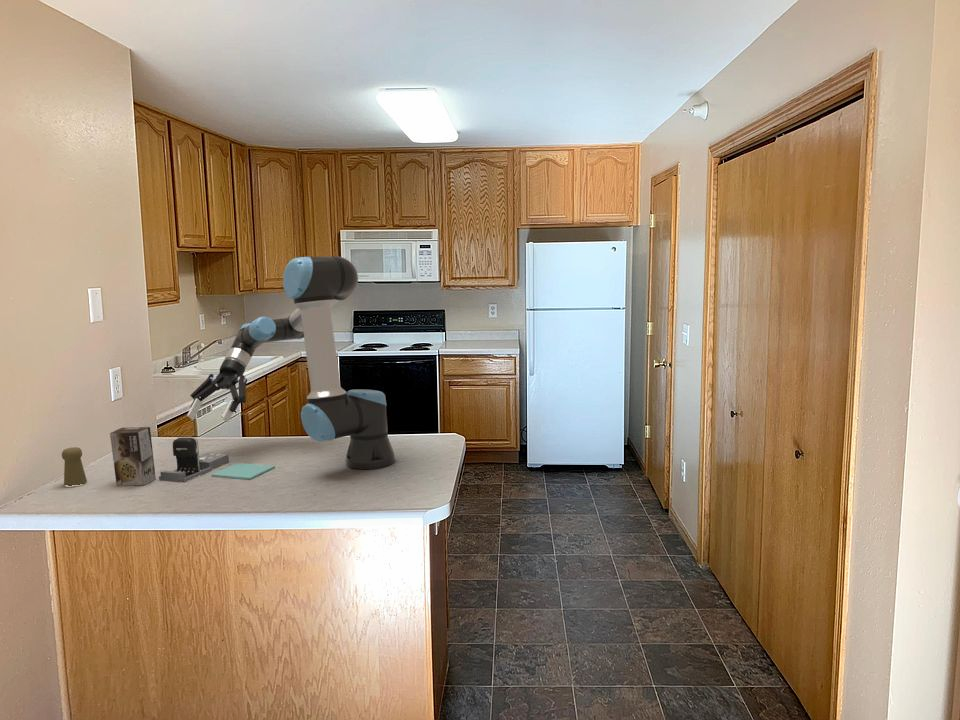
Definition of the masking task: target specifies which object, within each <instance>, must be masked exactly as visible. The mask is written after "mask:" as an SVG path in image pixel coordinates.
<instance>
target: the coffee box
mask: <svg viewBox="0 0 960 720" xmlns="http://www.w3.org/2000/svg"><path fill="white" fill-rule="evenodd" d="M109 437H110V438H109V439H110V445H111V453H112V461H113V468H114V474H115V475H114V476H115V483H116V484H115V485H116V486H145V485H147V484H149V483H151V482H153V481H154V480H156V479H157V478H156V470H155V460H154V452H153V443H152V433H151V427H150V426H140V427H137V426H136V427H134V426H131V427H128V426H127V427H119V428H118V429H116V430H114V431H111V432H110V433H109Z"/></svg>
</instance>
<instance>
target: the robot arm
mask: <svg viewBox="0 0 960 720" xmlns="http://www.w3.org/2000/svg"><path fill="white" fill-rule="evenodd" d="M282 281H283V282H282V284H283V290H284V292H285V294H286V296H287V297H288V298H289V299H292V300H293V305H294V306H295V307H296V309H295V310H294V311H293V312H292V313H291V314H290V315H289V316H288V317H283V318H270V317H267V316H259V317H258V318H255V320H253V321H251V322H250V323H243V324H242V326H241V327H240V329H239V330H238V331H237V334H236V336H235V338H234V340H233V342H232V344H231V346H230V348H229V350H228V352H227V353H226V355H225V357H224V360H223V361H222V363H221V365H220V367H219V373H218V374H217V375H214V374H213V373H210V374H209V375H208V376H207V378H206V379H205V380H204V381H203V382H202V383H201V384H200V385H199V386H198V387H197V388H196V389H195V390H194V391H193V392H192V393H191V394H190V398H192V399H193V401H192V403H191V405H190V406H189V407H190V409H189V411H188V413H187V414H186V417H188V418H189V419H190V420H192V421H194V420H195V418H196V416H197V414H198V412H199V411H200V408H201V407H202V405H203V401H204V400H205V399H206V398H208V397H209V396H211V395H212V394H214V393H215V392H216V391H220V390H229V391H230V393H231V397H232V399H231V400H229V402H228V404H227V406H226V408H225V410H224V412H223V414H222V417H221V418H222V419H223V420H224V421H225V422H226V423H229V422H230V420H231V418H232V416H233V413H235V412H236V411H237V409H238V406H239V405H240V404H241V403H243V404H245V403H246V402H247V383H248V379H247V378H246V377H245V375H244V373H245V371H246V369H247V367H248V365H249V363H250V362H251V359H252V356H253V355H254V352H255V351H256V349H258V348H259V347H260V346H262V345H263V344H265V343H274V342H281V341H291V340H301V339H304V347H305V355H306V362H307V369H308V377H309V384H310V392H309V394H308V395H307V396H306V402H307V403H306V404H305V405H303V406H302V408H301V411H300V420H301V425H302V426H303V429H304V432H305V433H306V434H307V435H308V437H309V438H311V439H312V440H313V441H315V442H319V443H320V442H321V443H322V442H326V441H327V442H328V441H330V442H331V441H333V440H336V439H340V438H344V437H350V438H349V440H350V441H349V445H348V448H347V452H346V456H345V465H346V466H347V467H348V468H351V469H355V470H373V469H380V468H385V467H389V466H390V465H393V464H394V463H395V461H396V459H395V457H396V455H395V452H394V450H393V447H392V444H391V442H390V439H389V434H388V431H389V430H388V415H387V413H388V412H387V405H388V404H387V400H386V399H387V398H386V394H385V393H384V392H383V391H380V390H374V389H350V390H349V389H348V391H346V390H345V389H344V388H342V387H341V381H340V380H341V378H340V372H339V364H338V357H337V349H336V340H335V334H334V333H335V332H334V327H333V326H334V325H333V317H332V312H331V309H332V308H333V307H334V306H335V305H336V304H337V303H338V302H339V301H344V300H347V299H348V298H349V297H350V296H351V295H352V294H353V293H354V292H355V290H356V288H357V286H358V284H359V283H358V282H359V275H358V271H357V269H356V267H355V266H354V264H353V263H352V262H351V261H350V260H348V259H347V258H345V257H342V256H338V255H337V256H336V255H334V256H300V257H294V258H293V259H291V260H289V261H288V263H287V264H286V267H285V269H284V272H283V277H282ZM237 384H238V390H237Z"/></svg>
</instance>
